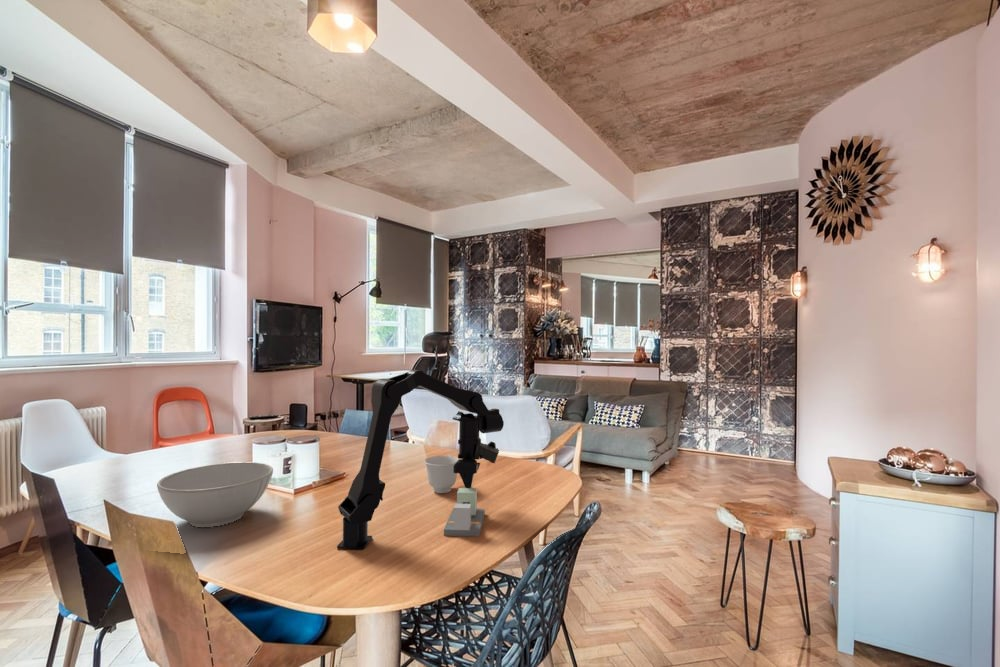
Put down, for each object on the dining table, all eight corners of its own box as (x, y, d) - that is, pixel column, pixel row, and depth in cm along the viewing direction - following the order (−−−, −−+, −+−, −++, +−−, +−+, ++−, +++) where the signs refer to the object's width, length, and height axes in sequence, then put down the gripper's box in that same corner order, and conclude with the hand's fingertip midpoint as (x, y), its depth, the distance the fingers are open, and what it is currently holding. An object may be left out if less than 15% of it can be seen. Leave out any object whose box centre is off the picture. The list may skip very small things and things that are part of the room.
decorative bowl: (292, 513, 127) (293, 470, 127) (187, 549, 104) (189, 497, 104) (239, 496, 141) (240, 457, 141) (136, 525, 117) (137, 479, 118)
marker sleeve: (475, 515, 121) (475, 493, 121) (456, 514, 121) (457, 492, 121) (476, 509, 125) (476, 488, 125) (459, 509, 125) (459, 487, 125)
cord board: (479, 536, 112) (479, 508, 112) (443, 535, 112) (444, 507, 113) (484, 514, 127) (484, 489, 127) (453, 513, 127) (453, 488, 128)
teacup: (468, 484, 154) (468, 455, 154) (452, 498, 140) (452, 466, 140) (436, 481, 157) (436, 452, 158) (417, 494, 143) (417, 463, 143)
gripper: (495, 442, 118) (494, 502, 117) (499, 429, 136) (498, 481, 136) (453, 441, 118) (452, 501, 118) (462, 429, 137) (462, 480, 137)
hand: (468, 490), depth 127 cm, fingers closed
